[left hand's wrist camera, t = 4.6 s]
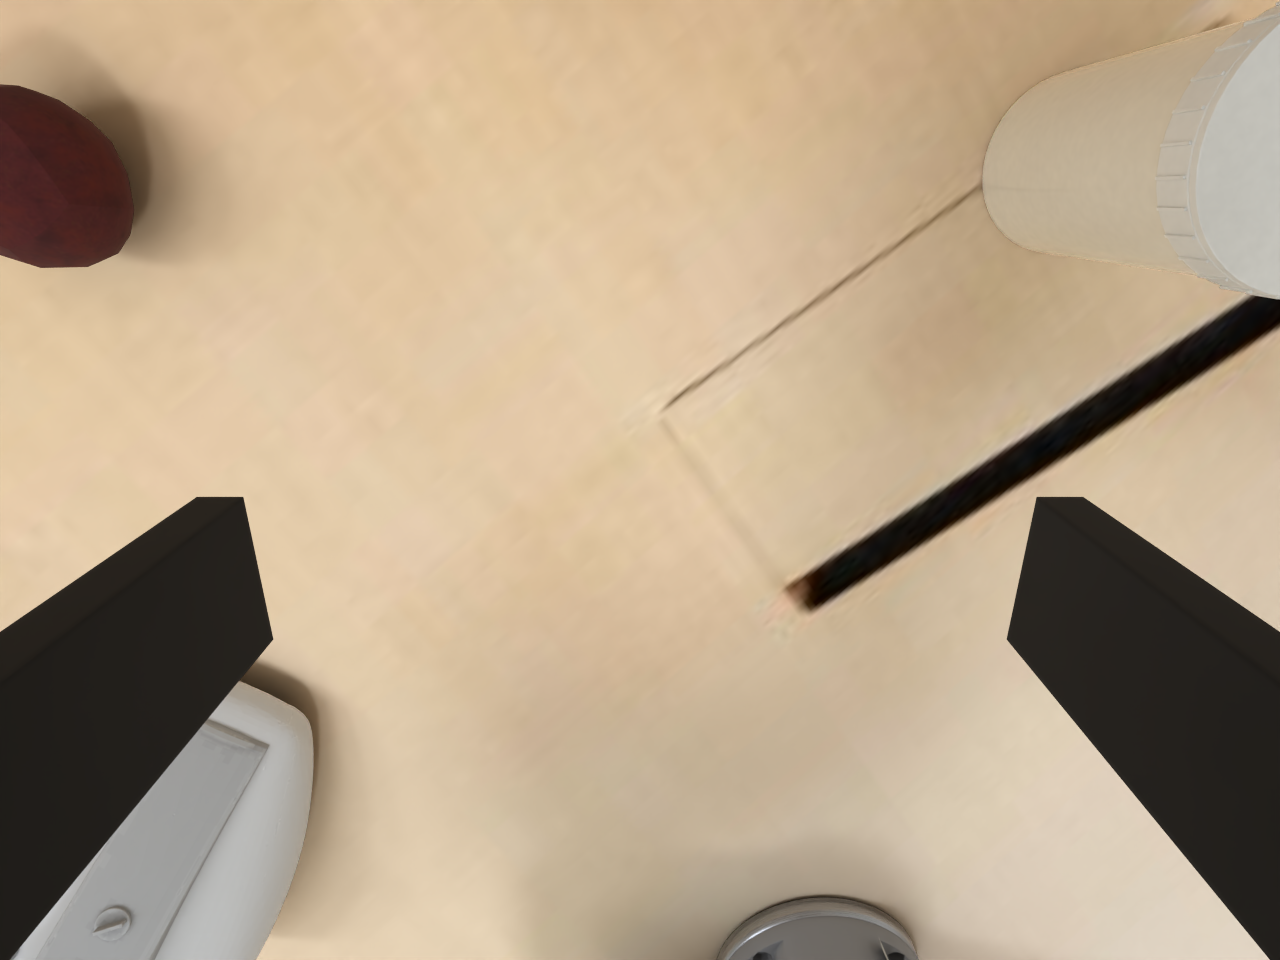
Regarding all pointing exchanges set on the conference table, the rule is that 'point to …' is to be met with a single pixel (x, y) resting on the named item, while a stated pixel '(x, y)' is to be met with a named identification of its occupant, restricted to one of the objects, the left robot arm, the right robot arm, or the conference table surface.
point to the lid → (1228, 164)
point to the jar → (1094, 156)
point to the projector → (197, 848)
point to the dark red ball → (58, 184)
